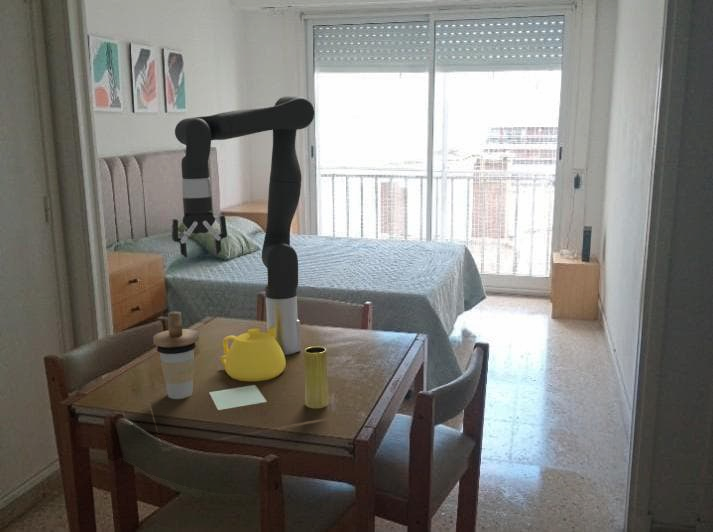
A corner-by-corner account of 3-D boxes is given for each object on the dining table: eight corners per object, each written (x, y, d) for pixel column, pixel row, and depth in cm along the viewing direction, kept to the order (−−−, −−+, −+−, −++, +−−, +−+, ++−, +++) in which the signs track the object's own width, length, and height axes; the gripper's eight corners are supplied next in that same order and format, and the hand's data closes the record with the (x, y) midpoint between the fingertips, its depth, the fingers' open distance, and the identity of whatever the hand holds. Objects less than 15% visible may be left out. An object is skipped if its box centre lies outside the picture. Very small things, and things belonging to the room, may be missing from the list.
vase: (304, 401, 170) (302, 346, 167) (329, 399, 170) (327, 345, 167) (304, 411, 164) (302, 354, 161) (330, 409, 164) (328, 353, 161)
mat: (255, 387, 179) (255, 384, 179) (267, 403, 168) (266, 401, 168) (209, 394, 175) (209, 392, 175) (218, 412, 164) (218, 410, 164)
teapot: (269, 388, 179) (266, 341, 176) (206, 380, 185) (203, 335, 182) (300, 362, 197) (299, 320, 194) (243, 356, 203) (240, 315, 201)
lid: (194, 331, 178) (193, 305, 177) (202, 343, 168) (200, 316, 167) (151, 336, 174) (149, 310, 173) (156, 349, 164) (153, 321, 163)
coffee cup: (189, 405, 169) (185, 347, 166) (154, 402, 171) (149, 345, 167) (205, 390, 178) (201, 335, 175) (171, 388, 180) (167, 333, 176)
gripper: (221, 192, 187) (224, 250, 190) (167, 195, 182) (172, 255, 185) (226, 195, 180) (230, 255, 184) (171, 198, 175) (176, 260, 178)
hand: (201, 255), depth 184 cm, fingers open, 8 cm apart
